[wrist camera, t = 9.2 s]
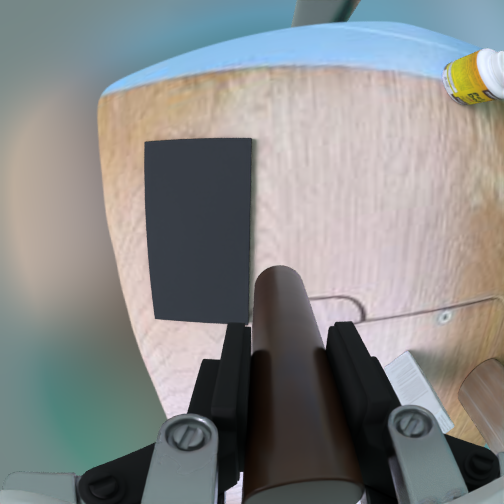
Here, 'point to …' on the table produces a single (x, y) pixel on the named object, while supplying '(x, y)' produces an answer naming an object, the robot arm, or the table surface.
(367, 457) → the robot arm
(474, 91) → the supplement bottle
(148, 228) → the felt mat
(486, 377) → the planter
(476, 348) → the table surface
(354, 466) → the walnut stick
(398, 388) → the cosmetic box
